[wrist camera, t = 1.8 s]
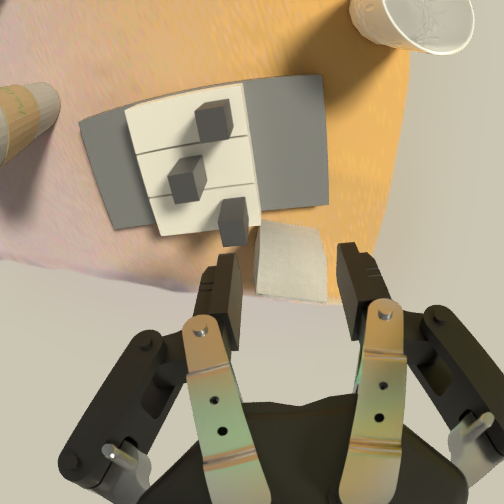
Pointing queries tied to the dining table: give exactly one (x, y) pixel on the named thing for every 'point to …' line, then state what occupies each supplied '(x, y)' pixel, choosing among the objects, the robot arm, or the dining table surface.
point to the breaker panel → (272, 143)
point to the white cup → (415, 24)
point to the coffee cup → (25, 116)
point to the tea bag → (290, 263)
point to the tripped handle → (187, 179)
